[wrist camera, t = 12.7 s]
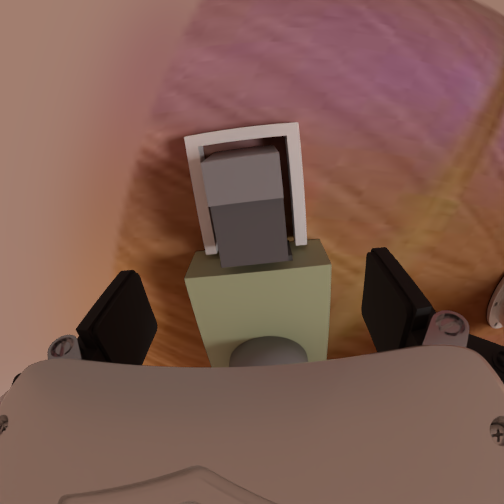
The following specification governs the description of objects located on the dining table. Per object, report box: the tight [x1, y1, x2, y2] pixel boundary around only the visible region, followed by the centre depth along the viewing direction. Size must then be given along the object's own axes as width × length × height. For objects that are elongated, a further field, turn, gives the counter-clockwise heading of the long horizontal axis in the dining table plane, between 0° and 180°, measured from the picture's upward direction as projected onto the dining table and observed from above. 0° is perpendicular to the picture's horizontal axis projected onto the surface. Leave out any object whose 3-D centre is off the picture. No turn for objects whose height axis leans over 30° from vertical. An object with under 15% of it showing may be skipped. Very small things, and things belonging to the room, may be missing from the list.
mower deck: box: [184, 122, 331, 368], centre depth 24 cm, size 12×29×9 cm, turn 7°
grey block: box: [201, 145, 289, 268], centre depth 22 cm, size 5×8×7 cm, turn 7°
